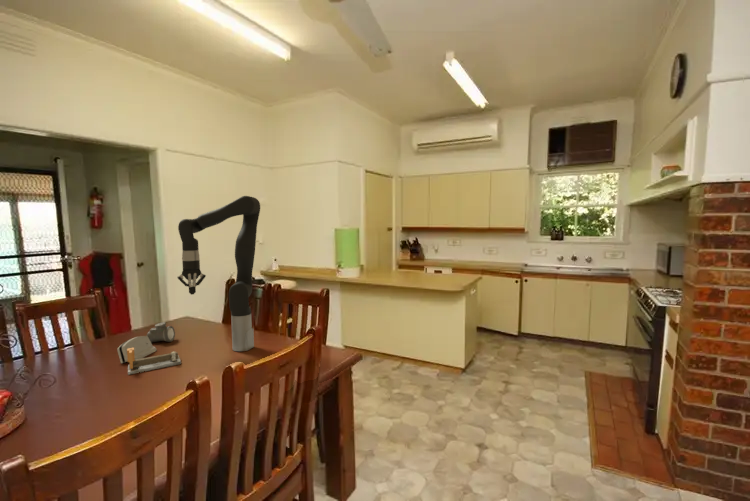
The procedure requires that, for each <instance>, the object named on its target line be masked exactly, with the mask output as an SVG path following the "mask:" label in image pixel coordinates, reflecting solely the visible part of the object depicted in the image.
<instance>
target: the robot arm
mask: <svg viewBox="0 0 750 501" xmlns="http://www.w3.org/2000/svg"><path fill="white" fill-rule="evenodd" d="M260 213H261V202H260V201H259V199H257V198H256V197H254V196H250V195H243V196H241V197H238V198H236V199H235V200H233V201H231V202H229V203H228V204H225V205H223V206H221V207H218V208H216V209H213V210H210V211H207V212H205V213H201V214H199V215H198V216H197V217H196V218H185V219H181V220H180V221H179V222H178V226H177V229H178V234H179V237H180V240H181V243H182V244H181V245H182V249H181V250H182V253H181V261H182V263H181V264H182V271H181V274H180V275H178V276H177V279H178V280H179V281H180V282H181V283H182V284H183V285H184V286H185V287H188V293H189V294H190V295H195V294H196V287H197V286H200V285H201V283H203V281H204V279H205V278H206V276H207V275H206V274H204V273H202V270H201V267H200V266H201V265H200V264H201V262H200V261H201V260H200V250H199V240H198V239H197V238H195V237H194V234H197V233H199V232H202V231H203V230H205V229H208V228H211V227H214V226H217V225H218V224H221V223H224V222H225V221H226V220H228V219H230V218H233V217H237V216H242V225H241V228H240V229H239V230H240V231H239V233H238V234H237V237H236V240H235V245H234V246H235V248H234V260H235V265H236V280H235V283H234V284H232V285H231V286H230V287H229V291H228V304H229V306H228V307H229V311H230V316H231V317H230V319H231V341H232V342H231V343H232V344H231V345H232V351H235V352H245V351H247V352H248V351H250V350H251V349H252V348H255V341H254V340H255V337H254V335H255V334H254V332H255V330H254V327H252V325H253V324H252V307H251V306H250V302H249V301H250V300H249V299H250V298H249V297H250V296H251V295H252V292H253V269H254V262H255V255H256V242H257V240H256V239H257V232H258V231H257V229H258V222H259V217H260ZM184 278H185V280H187V282H186V281H185V280H184ZM198 278H199V279H198ZM197 279H198V280H197Z"/></svg>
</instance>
